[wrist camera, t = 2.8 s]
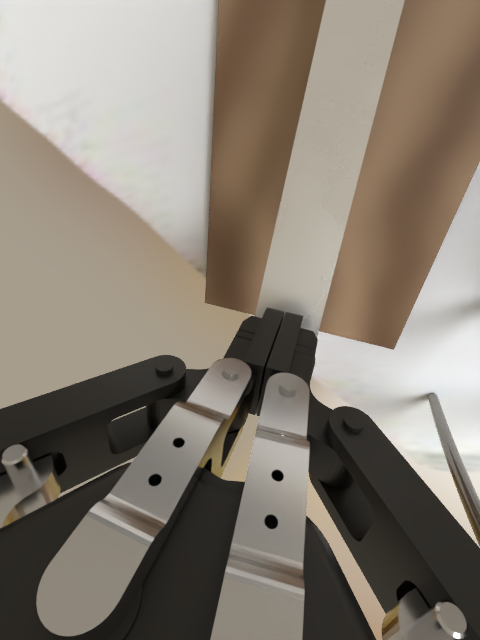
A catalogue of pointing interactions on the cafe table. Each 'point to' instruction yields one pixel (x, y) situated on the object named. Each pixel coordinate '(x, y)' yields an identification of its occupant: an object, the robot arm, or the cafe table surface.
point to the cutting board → (377, 167)
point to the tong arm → (328, 155)
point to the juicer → (457, 467)
